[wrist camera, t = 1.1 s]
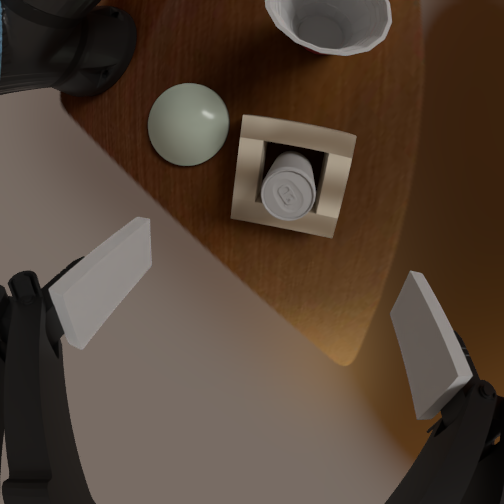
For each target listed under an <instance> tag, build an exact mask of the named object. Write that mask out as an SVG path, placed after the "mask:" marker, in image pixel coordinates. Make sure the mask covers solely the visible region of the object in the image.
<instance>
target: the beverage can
mask: <svg viewBox="0 0 504 504" xmlns="http://www.w3.org/2000/svg"><path fill="white" fill-rule="evenodd" d="M315 197H316V189H315V183H314V177H313V172H312V166H311V163H310V161H309V160H308V159H307V158H306V157H305V156H304V155H303V154H301V153H299V152H296V151H286V152H284V153H282V154H280V155H279V156H278V157H277V158H276V160H275V161H274V163H273V165H272V166H271V168H270V170H269V171H268V173H267V175H266V177H265V178H264V180H263V183H262V186H261V199H262V203H263V205H264V207H265V209H266V210H267V211H268V212H269V213H270V214H271V215H272V216H274V217H275V218H278V219H280V220H285V221H292V220H297V219H300V218H302V217H303V216H305V215H306V214H307V213H308V212H309V211H310V210H311V208H312V206H313V204H314V202H315Z"/></svg>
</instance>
